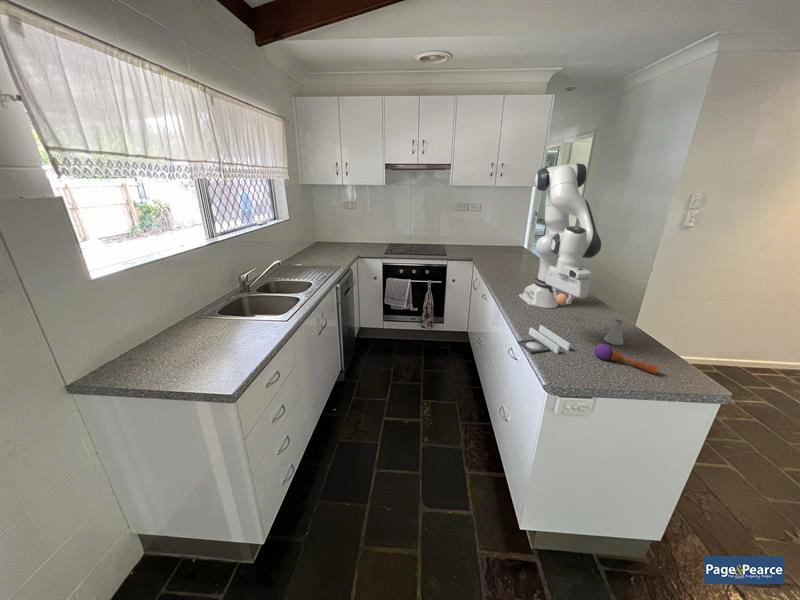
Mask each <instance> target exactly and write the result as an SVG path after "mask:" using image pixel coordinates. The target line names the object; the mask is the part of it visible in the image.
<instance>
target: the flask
mask: <svg viewBox="0 0 800 600" xmlns="http://www.w3.org/2000/svg"><path fill="white" fill-rule="evenodd" d="M624 323H625V322H624V320H622V319H617V318H616V319H614V323H613V325H612V326H611V327H612V328H611V329H610V330H609V331H608V333H607V334H606V335H605V336H603V338H602V340H604V341H605V343H608V344H611V345H612V346H622V345H624V344H625V342H624V337H623V331H622V330H623V324H624Z"/></svg>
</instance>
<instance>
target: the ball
mask: <svg viewBox="0 0 800 600" xmlns="http://www.w3.org/2000/svg"><path fill="white" fill-rule="evenodd" d="M568 295H569V294H568V293H566V292H565V293H564V292H563V293H562V292H559V294H558V295H557V297H556V301H557V303H558V305H560V306H566V305H568V304H567V303H565V300H566V299H568V298H569V296H568Z"/></svg>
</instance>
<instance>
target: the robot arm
mask: <svg viewBox="0 0 800 600" xmlns="http://www.w3.org/2000/svg"><path fill="white" fill-rule="evenodd" d="M587 177H588V169H587V167H586V164H584V163H576V164H575V163H574V164H573V163H567V164H560V165H554V166H550V167H543V168H540V169H538V171H537V172H536V175H535V177H534V184H535V186H536V189H537V190H538V191H542V192H546V194H545V195H546V196H545V202H544V204H545V205H544V206H545V207H544V222H545V224H546V226H547V229H548V233H546V234H545V235H543V236H541V237H539V238H538V240H536V242H535V250H536V252H537V253H538V255H539V256H538V257H539V266H538V267H539V268H538V273H537V277H535V278H533V280H534V283H532V284H530V285H527V286H526V287H525V288H524V291H523V293H519V294H518V296H519V297H520V299H522V301H524V302H525V303H526V304H527V305H529V306H534V307H538V308H544V309H555V308H558V306H559V304H558V303H557V301H556V297H557V295H558V294H560V291H561V292H563V293H564V292H565V294H567V295H568V296H569V298H568V299H566V300H565V303H567V304H566V305H571V304H572V302H573V299H575V298H579V299H581V298H582V299H583V298H586V297H587V296H588V295H589V292H590V286H591V280H590V278H592V272H591V271H590V270H588V269H587V268H586V267H585V266H584V265H583V258H584V259H592V258H593V257H595V256H596V255H598V253H599V252H600V251H601V249H602V240H601V237H600V236H599V233H598V230H597V228H596V224H595V221H594V217H593V213H592V211H591V207H590V204H589V202H588V200H587V199H585V198H584V197H583V196H582V195H581V193H580V191H579V188H580V187H582V186H583V185H584V184H586V181H587V179H588V178H587ZM570 215H571V216H573V217H575V218H576V219H577V220H578V221H579V224H580V226H575V225H574V226H572V225H571V224H570Z"/></svg>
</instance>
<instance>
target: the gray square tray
mask: <svg viewBox="0 0 800 600" xmlns="http://www.w3.org/2000/svg"><path fill="white" fill-rule="evenodd" d="M517 344H518V345H520V346H521V347H522V348H523V349H524V350H526V351H527V352H528V353H530V354H536V353H537V354H538V352H540V353H545V352H544V351H547V352H551V351H552V350H551V349H550V348H549V347H547V346H546V345H545V344H543V343H542V342H540V341H539V340H538V339H535V338H532V339H531V338H530V339H522V340H517Z"/></svg>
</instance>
